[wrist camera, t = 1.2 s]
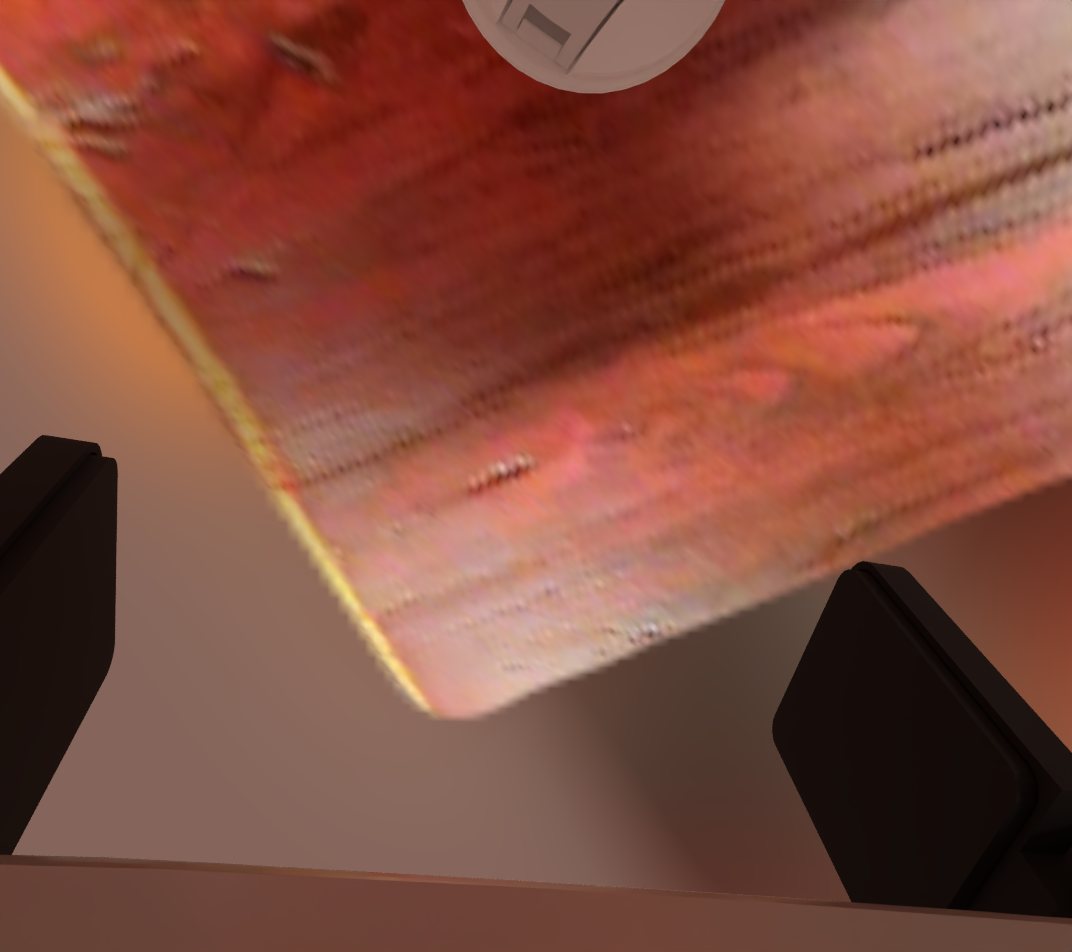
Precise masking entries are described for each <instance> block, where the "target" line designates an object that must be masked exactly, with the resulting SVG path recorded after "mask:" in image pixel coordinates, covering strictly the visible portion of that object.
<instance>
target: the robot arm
mask: <svg viewBox="0 0 1072 952" xmlns="http://www.w3.org/2000/svg"><path fill="white" fill-rule="evenodd" d="M117 475H118V471H117V463H116V460H115V459H114V458H109V457H102V453H101V449H100V446H99V445H98V444H97V443H92V442H86V441H79V440H73V439H66V438H60V437H53V436H46V435H42V436H40V437H39V438H37V439H36V440H35V441H34V442H33V443H32V444H31V445H30V446H29V447H28V448H27V449H26V450H25V451H24V452H23V453H22V454H21V455H20V456H19V457H18V458H17V459H16V460H15V461H14V462H12V464H10V465H9V466H8V467H7V468H6V469H5V470H4V471H3V472H2V473H1V474H0V952H1072V753H1071V752H1070V750H1069V749H1068V748H1067V747H1066V746H1065V745H1064V744H1063V743H1062V741H1060V739H1059V738H1058V737H1057V736H1056V735H1055V734H1054V733H1053V731H1051V729H1050V728H1049V727H1048V726H1047V725H1046V724H1045V723H1044V721H1042V719H1041V718H1040V717H1039V716H1038V715H1037V714H1036V713H1035V712H1034V710H1033V709H1032V708H1031V707H1030V706H1029V705H1028V704H1027V703H1026V702H1025V700H1024V699H1022V697H1021V696H1020V695H1019V694H1018V693H1017V692H1016V690H1015V689H1014V688H1013V687H1012V686H1011V685H1010V684H1009V683H1008V682H1007V680H1006V679H1005V678H1004V677H1003V676H1002V675H1001V674H1000V673H999V672H998V671H997V669H996V668H995V667H994V666H993V665H992V664H991V663H990V662H989V661H988V659H987V658H986V657H985V656H984V655H983V654H982V653H981V652H980V651H979V650H978V648H977V647H976V646H975V645H974V644H973V643H972V642H971V640H970V639H969V638H968V637H967V636H966V635H965V634H964V633H963V632H962V630H961V629H960V628H959V627H958V626H957V625H956V624H955V623H954V622H953V620H952V619H951V618H950V617H949V616H948V615H947V614H946V613H945V612H944V611H943V609H942V608H941V607H940V606H939V605H938V604H937V603H936V602H935V601H934V599H933V598H932V597H931V596H930V595H929V594H928V593H927V592H926V591H925V589H924V588H923V587H922V586H921V585H920V584H919V583H918V582H917V581H916V579H915V578H914V577H913V576H912V575H911V574H910V573H909V572H908V571H907V570H906V569H904V568H902V567H897V566H891V565H885V564H878V563H872V562H865V561H862V562H859V563H857V564H856V565H855V566H854V567H852V569H851V570H850V569H849V570H846V571H844V572H843V573H842V574H841V575H840V577H839V578H838V580H837V582H836V585H835V586H834V589H833V591H832V593H831V595H830V597H829V600H828V602H827V604H826V606H825V608H824V610H823V612H822V614H821V617H820V619H819V621H818V623H817V625H816V627H815V630H814V632H813V634H812V636H811V638H810V641H809V643H808V645H807V647H806V649H805V651H804V653H803V655H802V658H801V660H800V662H799V664H798V667H797V668H796V671H795V673H794V675H793V677H792V679H791V681H790V684H789V686H788V688H787V690H786V692H785V694H784V697H783V699H782V701H781V703H780V705H779V707H778V710H777V712H776V714H775V717H774V719H773V727H772V731H773V732H772V733H773V740H774V742H775V745H776V747H777V749H778V751H779V753H780V755H781V758H782V760H783V761H784V764H785V766H786V768H787V770H788V772H789V774H790V776H791V778H792V780H793V782H794V784H795V786H796V788H797V791H798V793H799V795H800V796H801V799H802V801H803V803H804V805H805V807H806V809H807V811H808V813H809V815H810V817H811V819H812V821H813V823H814V826H815V828H816V830H817V832H818V834H819V836H820V838H821V840H822V842H823V844H824V846H825V848H826V850H827V852H828V854H829V857H830V858H831V861H832V863H833V865H834V867H835V869H836V871H837V873H838V875H839V877H840V879H841V881H842V883H843V885H844V887H845V889H846V891H847V893H848V896H849V898H850V900H851V902H839V901H825V900H811V899H796V898H783V897H767V896H753V895H752V896H751V895H737V894H722V893H706V892H690V891H674V890H659V889H645V888H628V887H613V886H596V885H581V884H566V883H550V882H534V881H517V880H502V879H485V878H468V877H450V876H433V875H416V874H397V873H381V872H365V871H346V870H329V869H312V868H295V867H278V866H261V865H243V864H226V863H225V864H224V863H207V862H206V863H205V862H185V861H168V860H148V859H128V858H109V857H74V856H34V855H12V853H13V851H14V849H15V847H16V845H17V843H18V842H19V839H20V838H21V836H22V834H23V832H24V830H25V828H26V826H27V825H28V822H29V821H30V819H31V817H32V815H33V813H34V811H35V809H36V807H37V806H38V804H39V802H40V800H41V798H42V796H43V794H44V792H45V790H46V789H47V787H48V785H49V783H50V781H51V779H52V777H53V775H54V773H55V772H56V770H57V768H58V766H59V764H60V762H61V760H62V758H63V757H64V755H65V753H66V751H67V749H68V747H69V745H70V743H71V741H72V739H73V738H74V736H75V734H76V732H77V730H78V728H79V726H80V724H81V722H82V721H83V719H84V717H85V715H86V713H87V711H88V709H89V707H90V705H91V704H92V702H93V700H94V698H95V696H96V694H97V692H98V690H99V688H100V687H101V685H102V683H103V681H104V679H105V677H106V675H107V673H108V670H109V668H110V665H111V661H112V658H113V653H114V645H115V602H116V600H115V599H116V541H117V478H118V476H117Z"/></svg>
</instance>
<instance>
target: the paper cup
mask: <svg viewBox="0 0 1072 952" xmlns="http://www.w3.org/2000/svg"><path fill="white" fill-rule="evenodd" d="M462 1H463V3H464V5H465V7H466V9H467V12H468V14H469V15H470V17H471V18H472V20H473V22H474V23H475V25H476V26H477V28H478V29H479V31H480V32H481V34H482V35H483V37H484V38H485V39H486V40H487V41H488V42H489V43H490V45H491V46H492V47H493V48H494V49H495V50H496V51H497V53H498V54H499V55H501V56H502V57H503V58H504V59H505V60H507V61H508V62H509V63H510V64H511V65H513V66H514V67H515V68H516V69H517V70H519V71H521V72H523V73H524V74H526V75H528V76H529V77H531V78H533V79H535V80H536V81H538V82H541V83H544V84H546V85H549V86H552V87H554V88H557V89H561V90H566V91H572V92H577V93H607V92H613V91H619V90H624V89H627V88H630V87H633V86H636V85H639V84H642V83H645V82H647V81H648V80H650V79H652V78H654V77H656V76H658V75H659V74H661V73H663V72H665V71H666V70H668V69H669V68H670V67H672V66H673V65H674V64H675V63H677V62H678V61H679V60H681V59H682V58H683V57H684V56H685V55H686V54H687V53H688V52H689V51H690V50H691V49H692V48H693V47H694V46H695V45H696V44H697V43H698V42H699V41H700V40H701V38H702V37H703V36H704V34H705V33H706V31H707V30H708V29H709V27H710V26H711V25H712V23H713V22H714V20H715V19H716V17H717V15H718V13H719V12H720V10H721V8H722V6H723V4H724V2H725V0H462Z"/></svg>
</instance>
